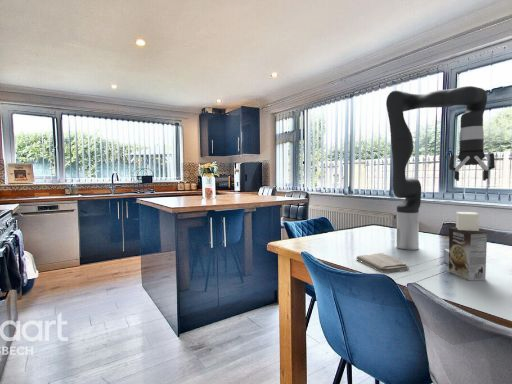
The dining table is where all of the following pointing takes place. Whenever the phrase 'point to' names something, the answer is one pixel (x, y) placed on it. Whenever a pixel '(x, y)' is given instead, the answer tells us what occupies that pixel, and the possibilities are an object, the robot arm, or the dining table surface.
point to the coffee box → (467, 253)
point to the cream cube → (467, 221)
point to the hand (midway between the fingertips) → (470, 180)
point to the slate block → (446, 256)
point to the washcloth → (383, 262)
